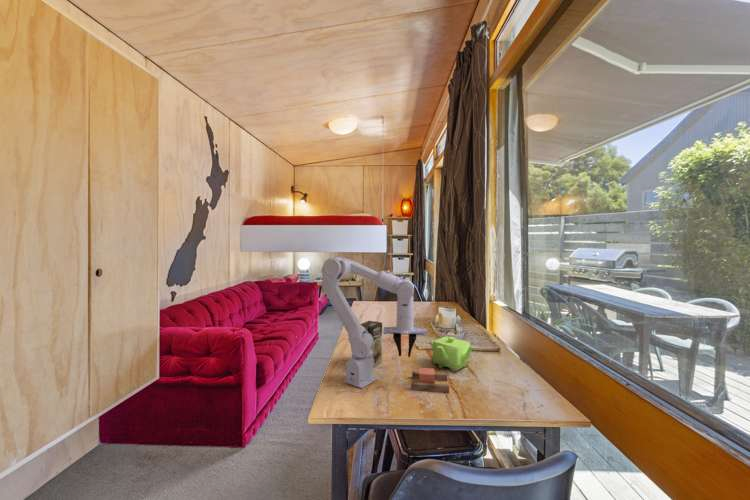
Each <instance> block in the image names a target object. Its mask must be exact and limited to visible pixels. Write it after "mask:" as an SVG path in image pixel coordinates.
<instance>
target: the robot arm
mask: <svg viewBox="0 0 750 500" xmlns="http://www.w3.org/2000/svg"><path fill="white" fill-rule="evenodd" d="M320 272H321V276H322V277H321V278H322V281H321V285H322V286H321V288H322V290H323V292H324V294H325V296H326V297H327V300H329V303H330V304H331V306H332V308H333V309H334V311H335V313H336V315H337V317H338V319H339V320H340V322H341V324H342V325H343V327H344V329H345V331H346V332H347V337H348V339H347V340H348V343H349V344H350V350H351V357H350V358H349V359H348V360H347V361H346V363H345V379H343V383H346V384H349V385H351V386H354V387H356V388H359V389H363V388H365V387H366V386H368V385H369V384H371V383H372V382H375V381H376V380H378V379H379V376H376V375H374V368H373V352H372V350H371V346H372V345H373V337H372V335H371V334H370V333H368V332H367V331H366V330H365V328H364V327H363V326H362V325H360V324H361V323H360V321H359V319H358V318H357V316H356V314H355V313H354V310H353V309H352V307H351V305H350V304H349V302H348V301H347V299H346V297H345V295H344V294H343V292H342V290H341V288H340V287H339V284H340V281H341V279H342V276H343V275H346V274H355V275H357V276H360V277H363V278H365V279H368V280H371V281H373V282H374V284H375V286H376V287H378V288H381V289H382V290H385V291H388V292H389V293H391V294H396V296H397V301H396V326H384V327H382V335H389V334H390V335H393V336H392V338H393V341H394V343H395V345H396V348H397V352H398V357H402V335H403V336H404V335H406V336H407V335H408V350H407V351H408V352H407V357H409V358H411V353H412V349H413V347H414V344H415V342H416V340H417V336H423V337H427V328H420V327H414V324H415V323H414V319H415V318H414V317H415V316H414V315H415V312H414V310H415V309H414V307H415V306H414V305H415V302H414V293H415V286H414V283H413V282H412V281H411V280H410V279H408V278H404V277H403V276H400V277H399V276H397V275H395V274H392V273H391V271H390V270H387V269H386V271H385V270H381V271H379V272H378V271H376V270H374V269H372V268H369V267H367V266H365V265H363V264H362V263H359V262H356V261H354V260H352V259H350V258H344V257H343V256H340V255H338V256H337V255H336V256H334V257H330V258H327V259H326V260H325V261H324V263H323V264H322V267H321V269H320Z"/></svg>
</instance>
